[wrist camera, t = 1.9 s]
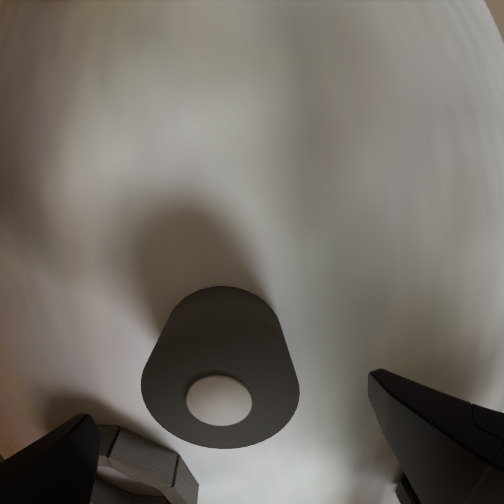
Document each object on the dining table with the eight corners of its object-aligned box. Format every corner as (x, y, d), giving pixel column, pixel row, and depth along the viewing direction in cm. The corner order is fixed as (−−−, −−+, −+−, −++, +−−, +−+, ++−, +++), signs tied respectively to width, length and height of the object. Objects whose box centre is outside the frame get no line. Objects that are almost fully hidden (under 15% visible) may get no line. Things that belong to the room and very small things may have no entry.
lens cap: (270, 274, 12) (288, 317, 8) (289, 375, 13) (308, 439, 9) (151, 298, 12) (115, 347, 8) (185, 392, 13) (171, 456, 9)
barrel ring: (162, 424, 13) (153, 458, 11) (211, 502, 15) (210, 529, 12) (43, 420, 13) (27, 443, 11) (106, 496, 15) (98, 518, 12)
